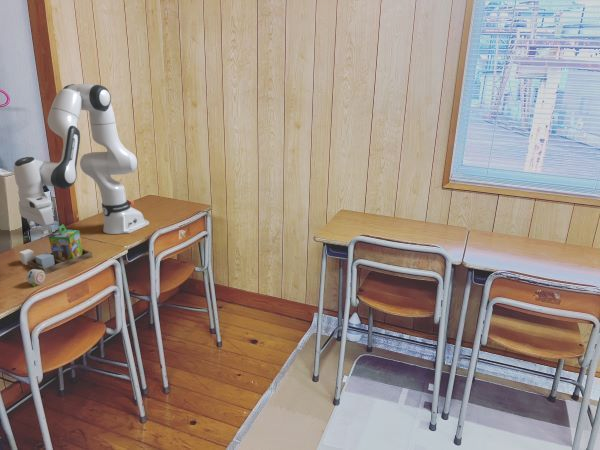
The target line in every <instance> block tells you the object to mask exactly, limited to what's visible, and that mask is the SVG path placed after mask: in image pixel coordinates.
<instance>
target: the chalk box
mask: <svg viewBox="0 0 600 450" xmlns="http://www.w3.org/2000/svg"><path fill="white" fill-rule="evenodd" d="M57 229H58V230H57V231H56V232H54V233H52V234H51V235H49V236H48V240H49V244H50V249H51V250H50V251H51V253H52V255H53V256H54V258H55V259H57V260H59V261H61V262H64V261H67V260H70V259H72V258H75V257H78V256H81V255H83V249H84V248H83V246H82V245H83V244H82V237H81V232H80V230H79V229H77V230H76V229H67V228H66V226H65V224H61V225H60V226H58V227H57Z"/></svg>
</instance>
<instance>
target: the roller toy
mask: <svg viewBox="0 0 600 450" xmlns="http://www.w3.org/2000/svg"><path fill="white" fill-rule="evenodd" d="M45 280H46V274H45V273H44V271H42V270H38V269H34V268H31V269H30V270H29V271H28V272H27V274H26V281H27V282H28V284H31V285H32V287H36V286H39V285H42V284H43V283H44V281H45Z"/></svg>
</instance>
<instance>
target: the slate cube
mask: <svg viewBox="0 0 600 450" xmlns="http://www.w3.org/2000/svg"><path fill="white" fill-rule="evenodd" d="M34 256H35V258H36V263H37V264H38V265H40V266H42V267H44V268H47V267H50V266H53V265H55V261H54V256H53V255H52V254H50V253H49V252H45V253H42V254H37V255H34Z"/></svg>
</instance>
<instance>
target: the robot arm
mask: <svg viewBox="0 0 600 450" xmlns="http://www.w3.org/2000/svg"><path fill="white" fill-rule="evenodd" d="M111 102H112V96H111V93H110V91H109V90H108V88H107V87H106V86H105V85H100V84H92V83H91V84H90V83H83V84H75V83H72V84H71V83H70V84H67V85H66V86H64V87H63V88H62V89H60V90H58V92H57V94H56V96H55V97H54V100H53V101H52V104H51V106H50V109H49V112H48V116H47V125H48V127H49V129H50V130H51V131H52V132H53V133H55V134H56V135H57V136H58V137H61V139H62V141H63V145H62V146H63V147H62V153H61V159H60V161H59V162H51V161H46V160H45V161H44V160H40V159H36V158H35V157H34V156H33V157H32V156H26V157H21V158H19V159H17V160H15V161H14V165H13V174H14V180H15V183H16V185H17V189H18V191H17V192H18V197H19V200H18V209H19V214H20V216H21V218H24V219H26V222H27V224H28V225H29V229H30V230H36V229H37V225H36V224H38V225H41V228H42V229H41V234H42V235H49V226H52V225H54V222H55V220H54V212H53V209H52V207H51V206H52V205H53V203H52V200H51V199H50V197H48V196H47V195H46V193H45V192H44V188H43V187H45V186H48V187H55V188H59V189H63V190H66V189H67V190H68V189H70V188H71V187H72V186H73V185H74V184H75V183H76V180H77V175H78V174H77V167H78V166H77V165H78V158H79V157H78V156H79V150H80V144H81V143H80V142H81V133H80V130H79V129H78V121H79V119H80V116H81V111H88V114H89V124H90V125H89V126H90V130H91V138H92V139H93V141H94V142H95V143H96V144H98V145H101V146H103V147H104V148H105V149H106V150H107V151H93V152H88V153H84V154H83V155H82V156H81V158H80V161H79V165H80V169H81V171H82V172H83V173H84V174H85V175H87V176H89V177H90V178H91V179H93V181H94V182H95V183H96V185H97V186H98V188H99V192H100V196H101V202H102V203H101V209H102V214H103V229H102V231H103V233H105V234H108V235H109V234H110V235H119V234H131V233H133V232H135V231H138V230H139V229H140V230H141V228H142V229H143V228H144V227H146V226H148V225H150V221H149V220H147V219H145V218H144V215H143V213H142V212H141V211H140V210H138V209H136V208H134V207H132V206H134V204H135V201H134V200H128V199H127V194H126V187H125V186H124V184H123V183H121V182H120V181H118V180H115V179H114V178H112V175H126V174H131V173H134V172H135V171H136V169H137V168H138V159H137V157H136V154H134V153H133V152H131V150H129V149H127V148H126V146H124V145H123V142H121V140H120V137H119V133H118V129H117V122H116V117H115V113H114V108H113V105H112V103H111Z"/></svg>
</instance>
